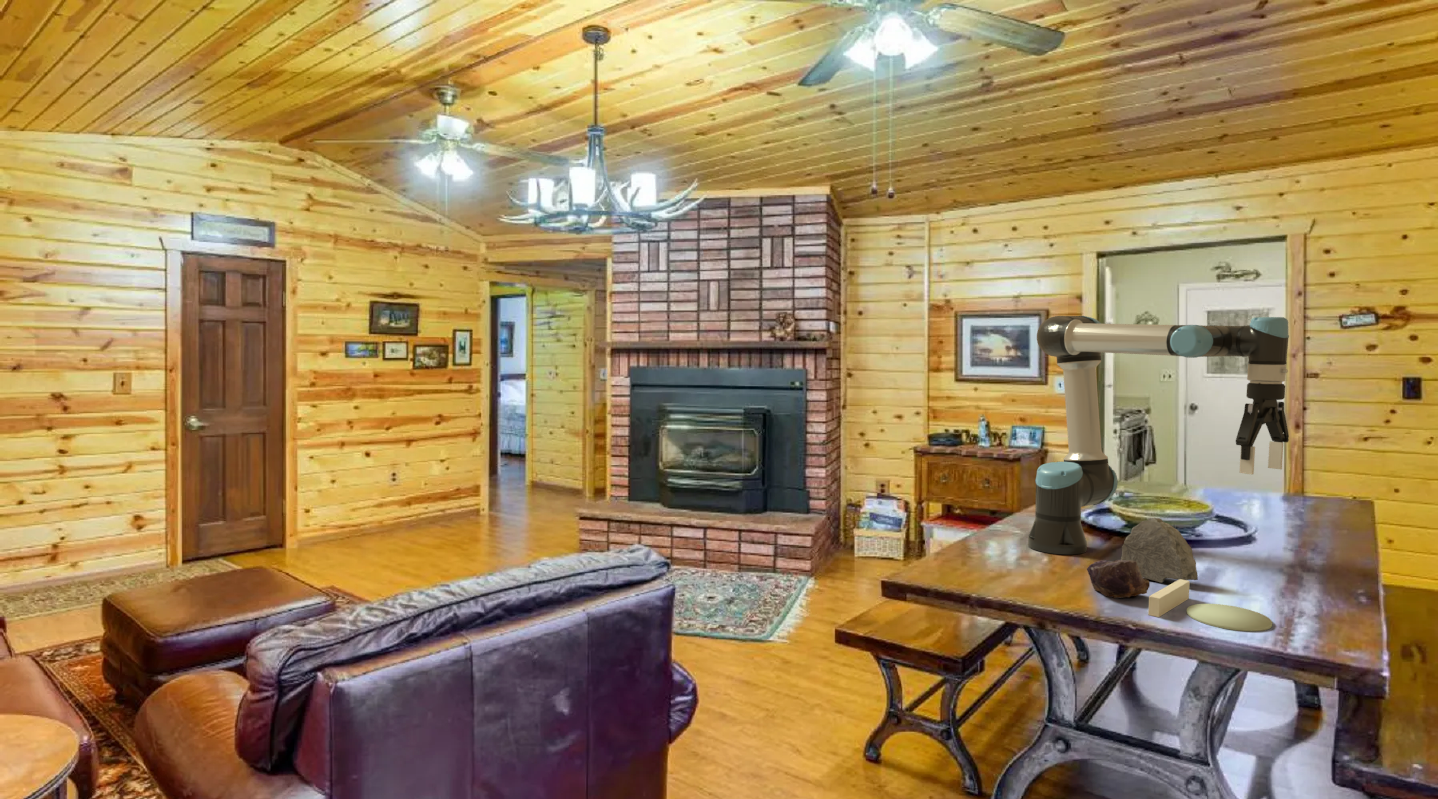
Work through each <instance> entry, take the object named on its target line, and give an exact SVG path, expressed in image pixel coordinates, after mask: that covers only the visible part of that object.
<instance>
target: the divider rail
mask: <svg viewBox="0 0 1438 799" xmlns="http://www.w3.org/2000/svg"><path fill="white" fill-rule="evenodd" d="M1190 582H1191V580H1182V579H1179V580H1178V579H1176V580H1175V581H1174V582H1172V583H1171V584H1168V585H1166V586H1165V587H1163V588H1161V589H1160V590H1158V591H1156V592H1154V593H1152V594H1151V595H1149V596H1148V612H1147V613H1148V616H1151V617H1156V618H1160V617H1161V616H1163V615H1164V614H1166V613H1167V612H1170V611H1172V610H1173V609H1174V608H1176V607H1178V606H1179V605H1181V604H1182V603H1184V602H1186V601H1187V600H1189V599H1190Z"/></svg>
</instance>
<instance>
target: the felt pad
mask: <svg viewBox="0 0 1438 799" xmlns="http://www.w3.org/2000/svg"><path fill="white" fill-rule="evenodd" d="M1186 614H1187V616H1188V617H1190V618H1191V619H1193V620H1195V621H1196V622H1199V623H1201V624H1205V625H1208V626H1211V627H1215V628H1218V629H1224V630H1229V631H1230V630H1231V631H1238V632H1264V631H1267V630H1269V629H1271V628H1272V627H1273V621H1272V619H1271V618H1270V617H1268V616H1266V615H1265V614H1263V613H1260V612H1258V611H1254V610H1251V609H1249V608H1243V607H1240V606H1234V605H1229V604H1220V603H1197V604H1196V603H1195V604H1192V605H1189V606H1188V607H1187V608H1186Z"/></svg>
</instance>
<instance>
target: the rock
mask: <svg viewBox="0 0 1438 799" xmlns="http://www.w3.org/2000/svg"><path fill="white" fill-rule="evenodd" d="M1086 571H1087V573H1088V576H1089V578H1090V583H1091V585H1092V587H1093V590H1094V591H1095V592H1096V591H1097V592H1100V593H1101V594H1102V595H1103V596H1105V597H1109V598H1110V597H1111V598H1113V599H1116V598H1117V599H1119V598H1120V599H1122V598H1123V599H1124V598H1131V597H1137V596H1140V595H1145V594H1147V593H1148V590H1149V588H1150V581H1149V579H1146V578H1142V575H1141V572H1140V569H1139V567H1138V565H1137V562H1136V561H1133V560H1132V561H1130V560H1128V561H1127V560H1121V559H1116V560H1112V561H1109V560H1105V561H1103V560H1097V561H1094V563H1091V564H1089V566H1088V567H1087V568H1086Z"/></svg>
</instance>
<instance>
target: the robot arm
mask: <svg viewBox="0 0 1438 799" xmlns="http://www.w3.org/2000/svg"><path fill="white" fill-rule="evenodd" d="M1289 339H1290V335H1289V320H1288V319H1287V318H1286V317H1283V316H1263V317H1262V316H1259V317H1255V316H1254V317H1252V318H1251V319H1250V323H1249V325H1248V324H1247V325H1212V324H1211V325H1201V324H1178V325H1177V324H1147V323H1146V324H1145V323H1144V324H1142V323H1141V324H1140V323H1137V324H1135V323H1131V324H1130V323H1102V322H1101V321H1099V320H1098V319H1096V318H1094V317H1092V316H1091V317H1090V316H1086V315H1054V316H1050V317H1049V318H1047V319H1045V320H1044V321H1043V322H1042V323H1041V324H1040V325H1039V327H1038V329H1037V333H1036V341H1037V344H1038V345H1037V346H1038V348H1040V350H1041V351H1042V352H1043V353H1044V354H1046V355H1049V357H1050V356H1051V357H1054V358H1056V365H1057V366H1058V367H1059V368H1060V369H1061V370H1062V371H1063V374H1062V375H1063V384H1064V385H1063V387H1064V388H1063V389H1064V402H1065V415H1066V416H1065V417H1066V431H1067V444H1068V445H1067V446H1068V453H1067V454H1066V456H1065V457H1064V458H1063V461H1055V462H1054V461H1052V462H1046V463H1044V464H1041V465H1039V467H1038V468H1037V470H1036V476H1035V518H1034V521H1033V523H1032V525H1031V529H1030V532H1029V534H1028V537H1027V547H1028V548H1030V549H1032V550H1035V551H1039V552H1042V553H1045V554H1046V553H1048V554H1053V555H1054V554H1055V555H1080V554H1084V553H1086V552H1087V551H1088V550H1087V549H1088V541H1087V539H1086V535H1085V532H1084V530H1083V525H1082V523H1081V520H1082V519H1081V518H1082V517H1081V515H1082V507H1089V506H1097V505H1100V504H1102V503H1105V502H1107V501H1108V500H1110V499H1111V498H1112V497H1113V496H1114V495H1115V493H1116V491H1117V488H1118V475H1117V473H1116V471H1115V470H1114V469H1112V466H1111V465H1109V458H1108V456H1107V455H1106V454H1105V453H1104V452H1103V450H1102V440H1101V439H1102V438H1101V426H1100V425H1101V424H1100V410H1099V398H1098V397H1099V394H1098V380H1097V370H1096V369H1097V367H1098V366H1099V364H1100V363H1102V353H1104V354H1106V353H1107V354H1126V355H1127V354H1128V355H1130V354H1131V355H1147V356H1148V355H1149V356H1155V355H1156V356H1169V357H1170V356H1171V357H1183V358H1188V359H1189V358H1201V357H1203V358H1206V357H1207V358H1208V357H1243V358H1246V357H1248V360H1247V362H1248V363H1247V377H1246V380H1247V381H1249V382H1248V383H1247V384H1246V398H1247V399H1252V403H1245V404H1244V408H1243V409H1244V410H1243V415H1242V418H1241V422H1240V425H1239V429H1238V432H1237V435H1236V437H1235V445H1236V446H1240V459H1239V473H1240V474H1245V475H1250V476H1251V475H1254V473H1255V472H1254V471H1255V457H1256V456H1255V454H1256V446H1254V444H1255V441H1256V440H1257V437H1258V435H1259V433H1260V431H1261V428H1262V426H1263V425H1266V426H1265V427H1266V428H1267V431H1268V434H1269V436H1270V438H1271V439H1270V440H1272V441H1269V443H1268V444H1269V445H1268V446H1269V447H1268V460H1267V468H1268V469H1272V470H1273V469H1274V470H1282V469H1283V455H1284V443H1289V440H1290V439H1289V438H1290V434H1289V429H1288V424H1287V419H1286V414H1285V401H1281V400H1284V399H1285V398H1286V397H1285V395H1286V394H1285V393H1286V385H1285V383H1283V382H1285V381H1286V379H1287V378H1286V377H1287V375H1286V374H1288V372H1289V370H1288V368H1287V358H1288V348H1289V347H1288V346H1289Z"/></svg>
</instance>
